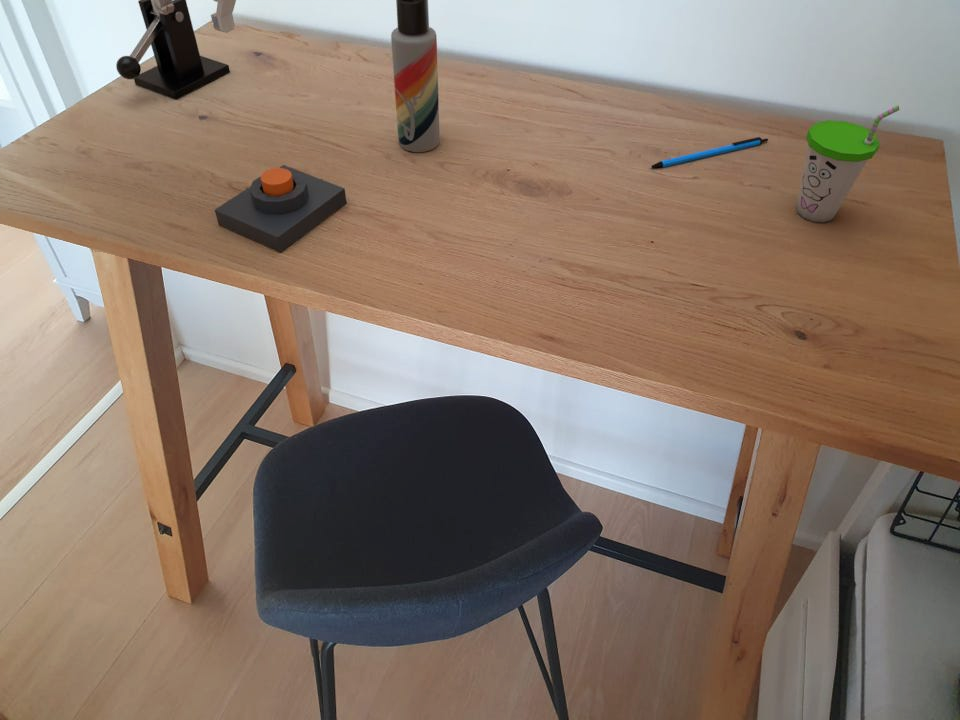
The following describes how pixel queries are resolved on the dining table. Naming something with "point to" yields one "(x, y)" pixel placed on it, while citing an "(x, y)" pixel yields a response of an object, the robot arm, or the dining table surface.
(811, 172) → the cup
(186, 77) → the switch bracket
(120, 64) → the switch
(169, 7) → the robot arm
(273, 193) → the button
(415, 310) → the dining table surface
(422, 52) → the lotion bottle
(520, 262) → the dining table surface
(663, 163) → the pen
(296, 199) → the control block
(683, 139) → the dining table surface
